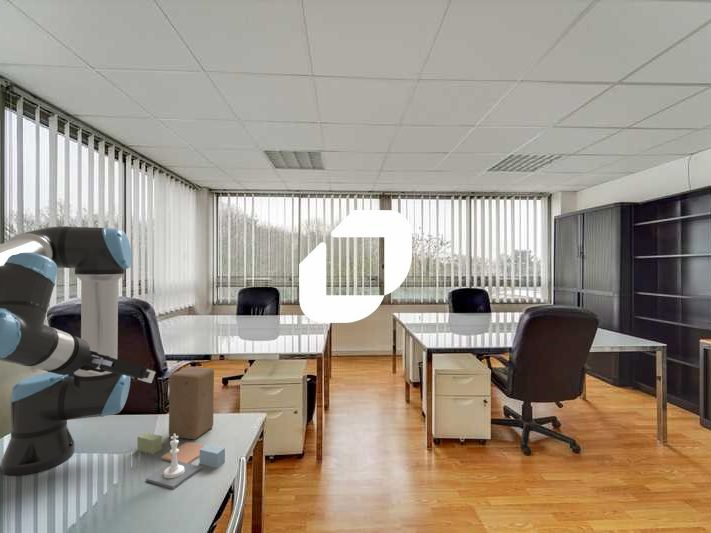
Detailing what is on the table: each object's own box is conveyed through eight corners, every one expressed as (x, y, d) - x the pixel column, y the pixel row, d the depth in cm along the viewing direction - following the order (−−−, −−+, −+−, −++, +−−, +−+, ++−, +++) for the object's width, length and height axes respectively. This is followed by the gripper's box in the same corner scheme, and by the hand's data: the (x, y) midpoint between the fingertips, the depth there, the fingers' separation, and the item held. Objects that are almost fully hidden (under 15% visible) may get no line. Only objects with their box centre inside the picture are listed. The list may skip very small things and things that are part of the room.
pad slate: (146, 480, 89) (146, 478, 89) (175, 462, 98) (175, 460, 98) (173, 489, 86) (173, 486, 86) (201, 469, 95) (201, 467, 95)
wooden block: (195, 441, 110) (196, 376, 110) (167, 437, 112) (168, 374, 112) (214, 426, 120) (215, 367, 120) (188, 423, 122) (189, 365, 122)
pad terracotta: (161, 458, 100) (161, 456, 100) (186, 443, 108) (186, 441, 108) (186, 465, 97) (186, 463, 97) (210, 449, 105) (210, 447, 105)
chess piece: (183, 476, 90) (183, 437, 90) (161, 479, 89) (161, 439, 89) (186, 466, 95) (186, 428, 95) (165, 469, 94) (165, 431, 94)
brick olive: (137, 450, 104) (137, 436, 104) (146, 445, 107) (146, 432, 107) (152, 454, 102) (152, 440, 102) (161, 449, 105) (161, 435, 105)
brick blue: (199, 464, 98) (199, 449, 98) (207, 458, 100) (207, 444, 100) (217, 468, 96) (217, 453, 96) (224, 462, 98) (224, 448, 98)
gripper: (-8, 362, 70) (76, 381, 89) (104, 380, 66) (167, 396, 85) (14, 326, 73) (91, 351, 92) (122, 341, 70) (178, 365, 88)
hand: (127, 373), depth 89 cm, fingers open, 13 cm apart
